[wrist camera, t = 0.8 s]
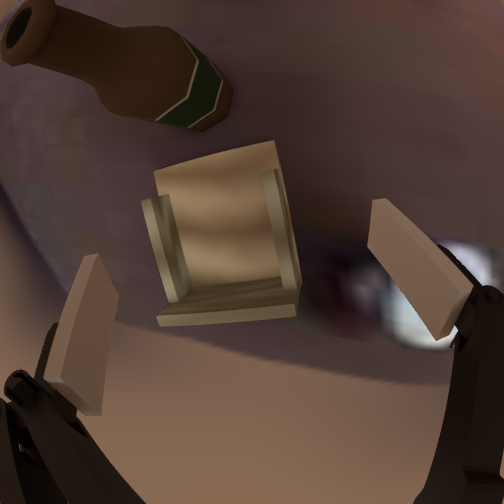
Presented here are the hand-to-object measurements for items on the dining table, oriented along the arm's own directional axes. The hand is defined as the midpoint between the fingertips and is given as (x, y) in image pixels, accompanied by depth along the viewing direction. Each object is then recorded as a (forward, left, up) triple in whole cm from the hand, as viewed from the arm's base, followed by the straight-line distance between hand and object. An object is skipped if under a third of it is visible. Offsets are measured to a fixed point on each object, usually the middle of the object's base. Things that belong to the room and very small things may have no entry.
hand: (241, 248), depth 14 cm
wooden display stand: (+2, -6, -18) cm, 19 cm away
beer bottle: (-13, -6, -18) cm, 23 cm away
